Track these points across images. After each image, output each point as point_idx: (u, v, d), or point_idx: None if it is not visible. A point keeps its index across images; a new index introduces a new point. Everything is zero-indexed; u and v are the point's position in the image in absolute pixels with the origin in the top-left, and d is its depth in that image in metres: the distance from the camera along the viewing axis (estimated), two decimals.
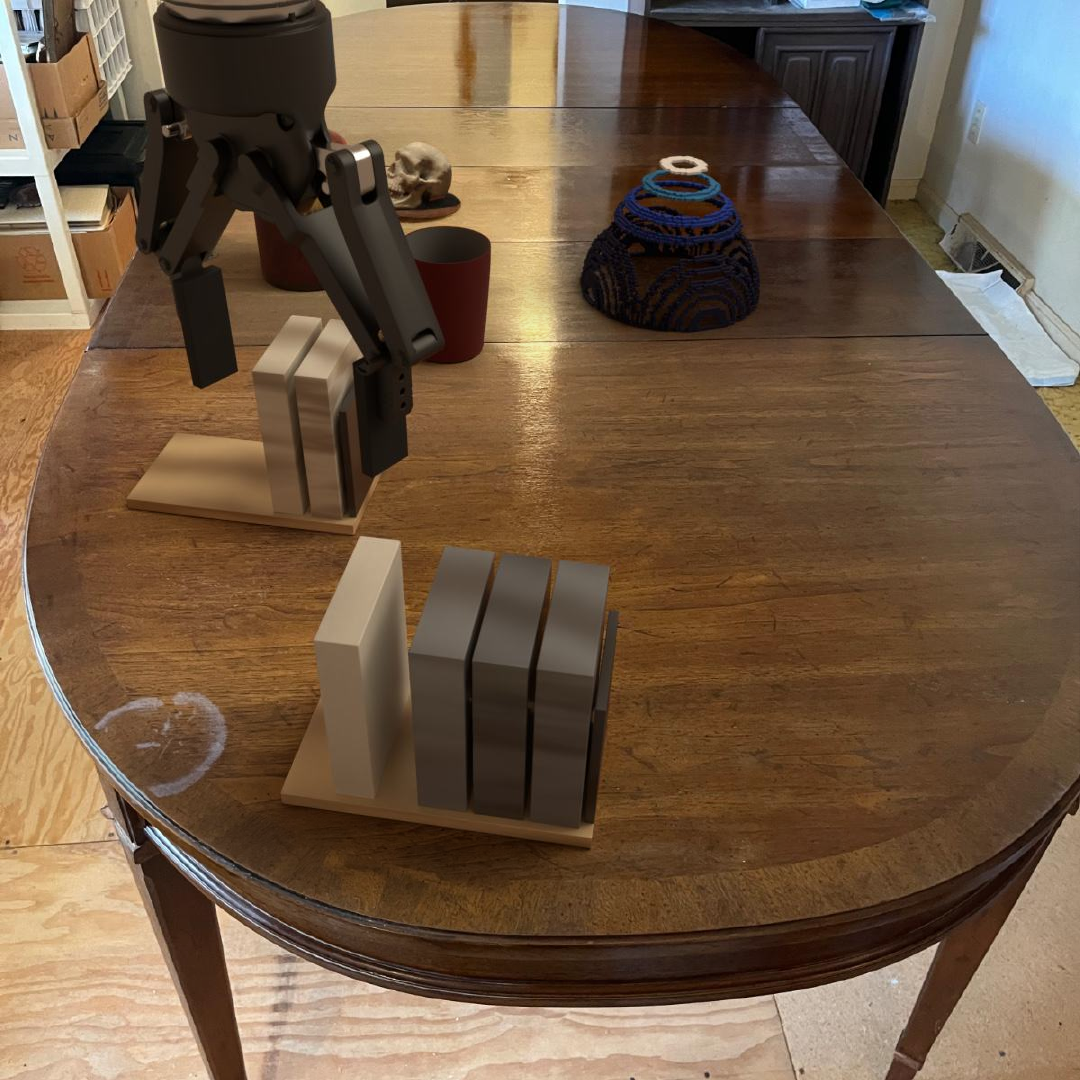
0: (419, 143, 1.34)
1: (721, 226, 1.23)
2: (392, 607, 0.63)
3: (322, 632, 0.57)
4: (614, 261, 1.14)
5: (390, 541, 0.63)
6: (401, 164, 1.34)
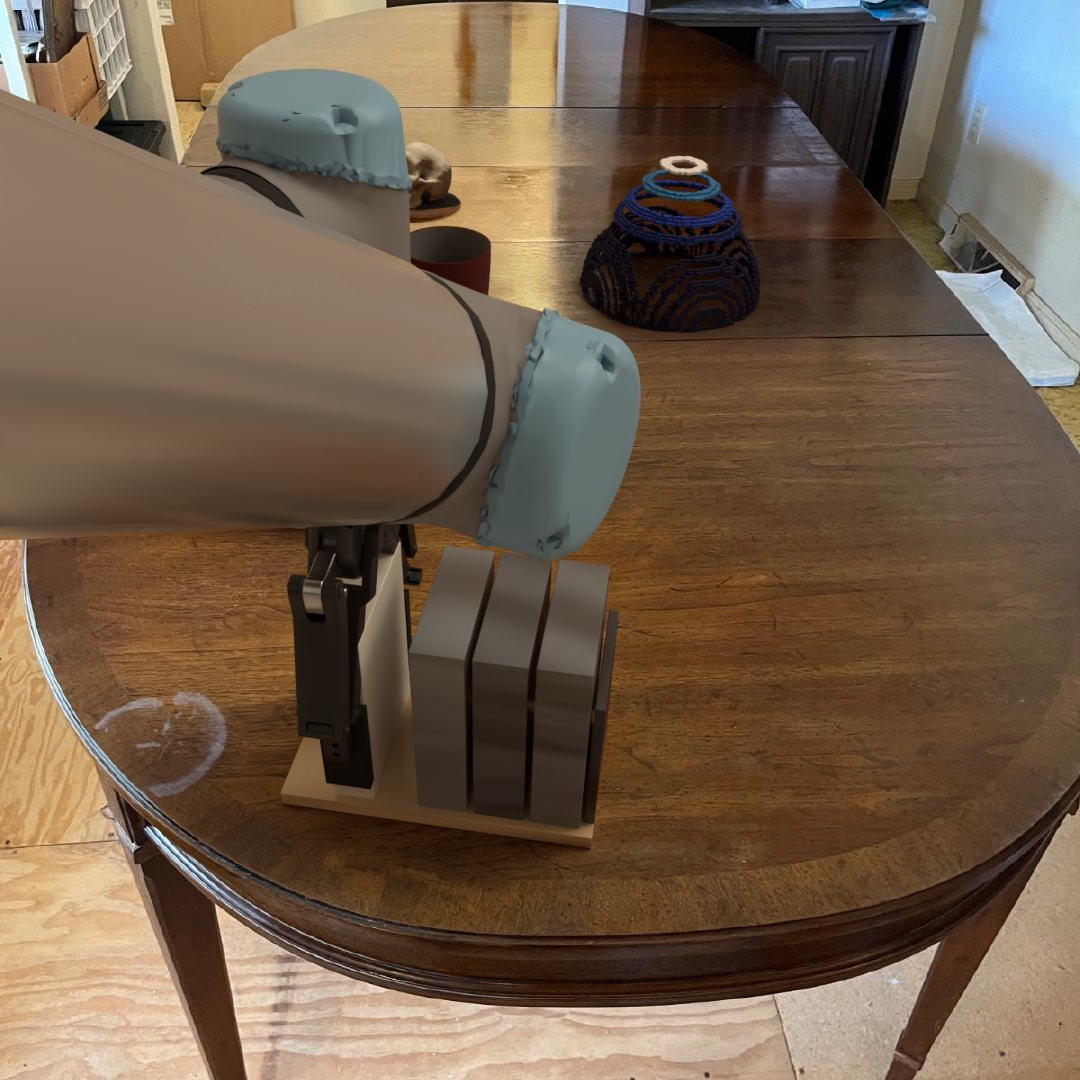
0: (419, 143, 1.34)
1: (721, 226, 1.22)
2: (392, 607, 0.63)
3: None
4: (614, 261, 1.14)
5: None
6: None
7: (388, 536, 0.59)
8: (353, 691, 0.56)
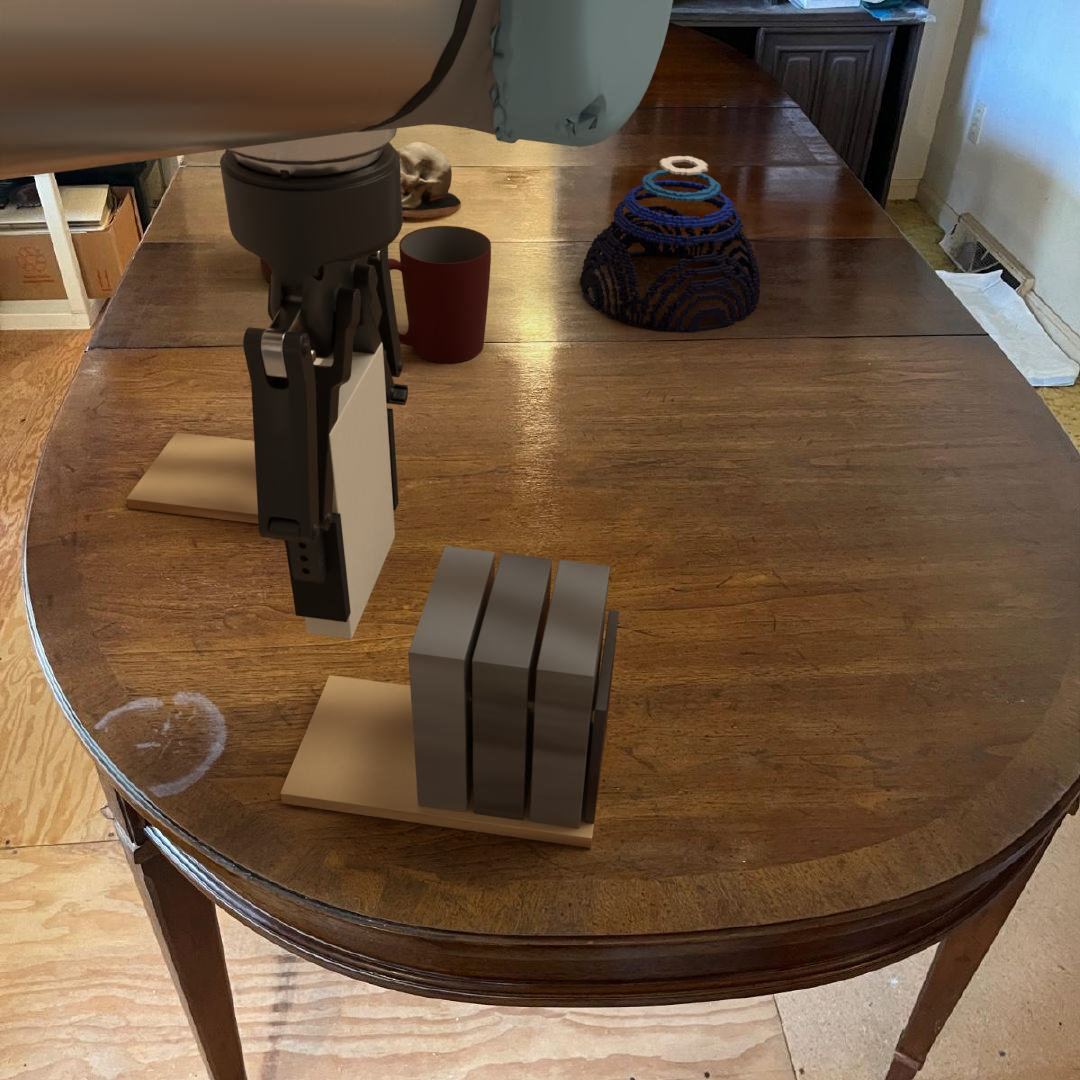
0: (419, 143, 1.34)
1: (721, 226, 1.22)
2: (372, 418, 0.55)
3: None
4: (614, 261, 1.14)
5: None
6: (401, 164, 1.34)
7: (366, 323, 0.52)
8: (324, 489, 0.49)
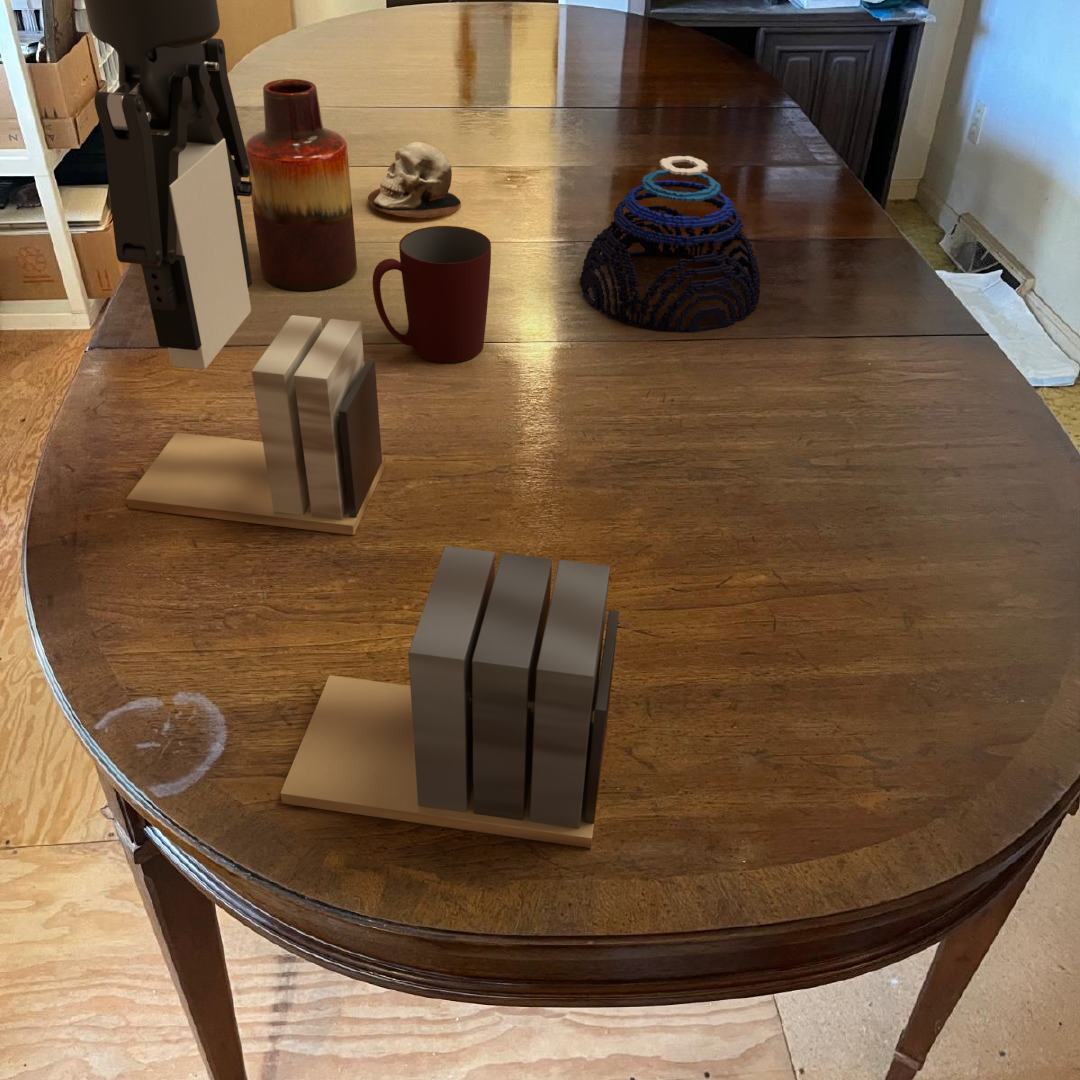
0: (419, 143, 1.34)
1: (721, 226, 1.22)
2: (217, 196, 0.73)
3: None
4: (614, 261, 1.14)
5: None
6: (401, 164, 1.34)
7: (205, 115, 0.69)
8: (167, 229, 0.66)
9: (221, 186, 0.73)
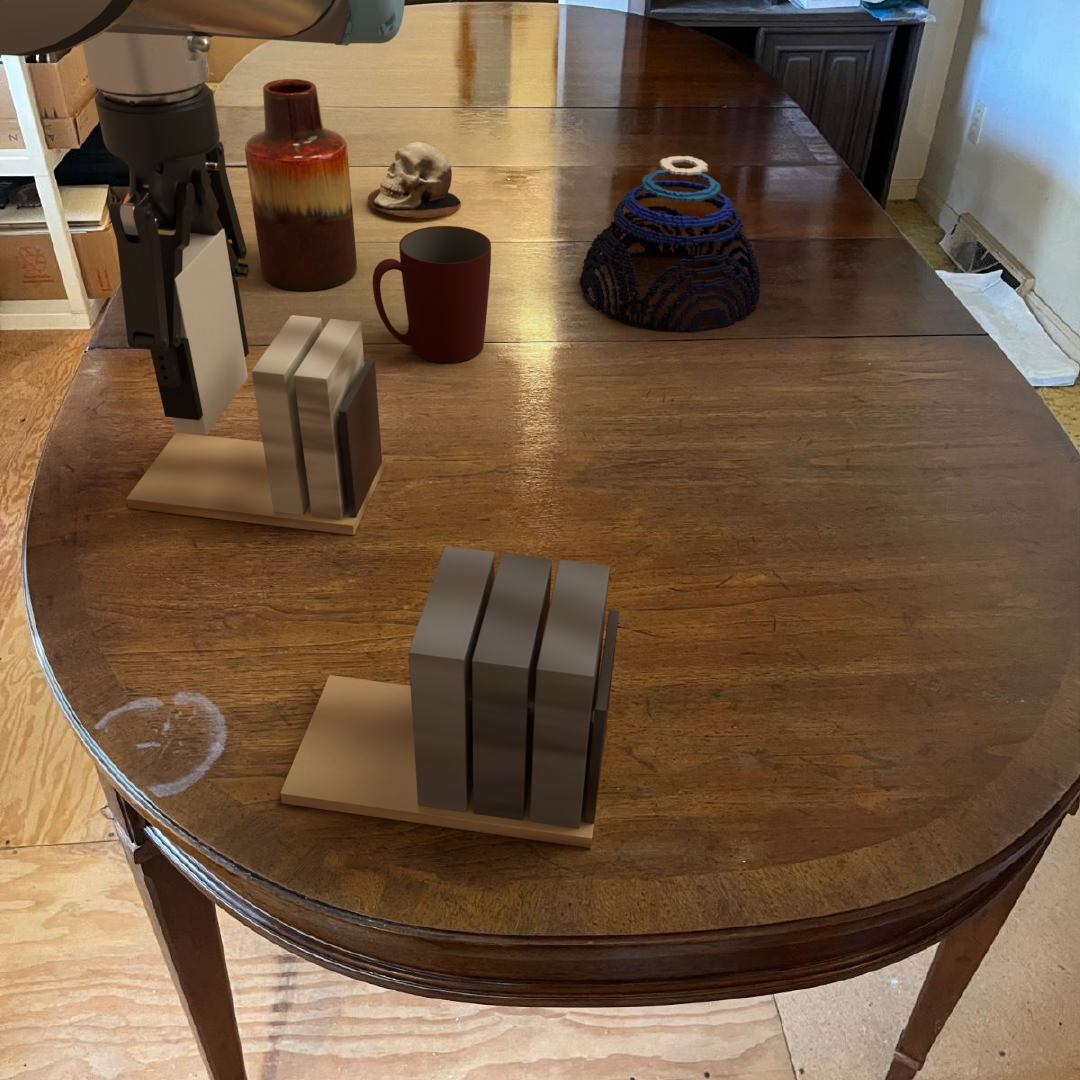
0: (419, 143, 1.34)
1: (721, 226, 1.22)
2: (217, 280, 0.80)
3: None
4: (614, 261, 1.14)
5: None
6: (401, 164, 1.34)
7: (206, 212, 0.77)
8: (172, 317, 0.74)
9: (220, 271, 0.81)
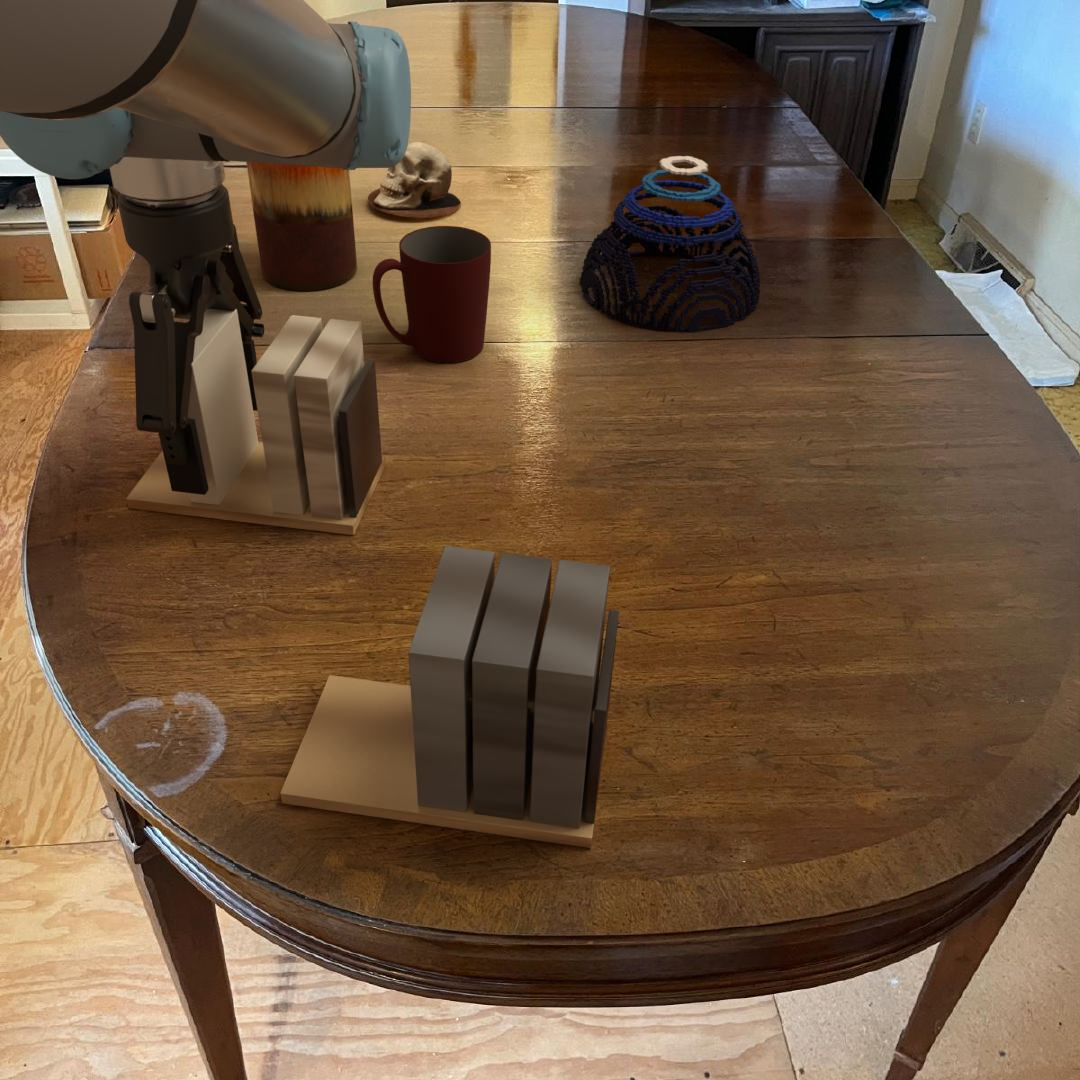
0: (419, 143, 1.34)
1: (721, 226, 1.22)
2: (230, 358, 0.85)
3: None
4: (614, 261, 1.14)
5: None
6: (401, 164, 1.34)
7: (222, 294, 0.82)
8: (181, 399, 0.77)
9: (233, 349, 0.85)
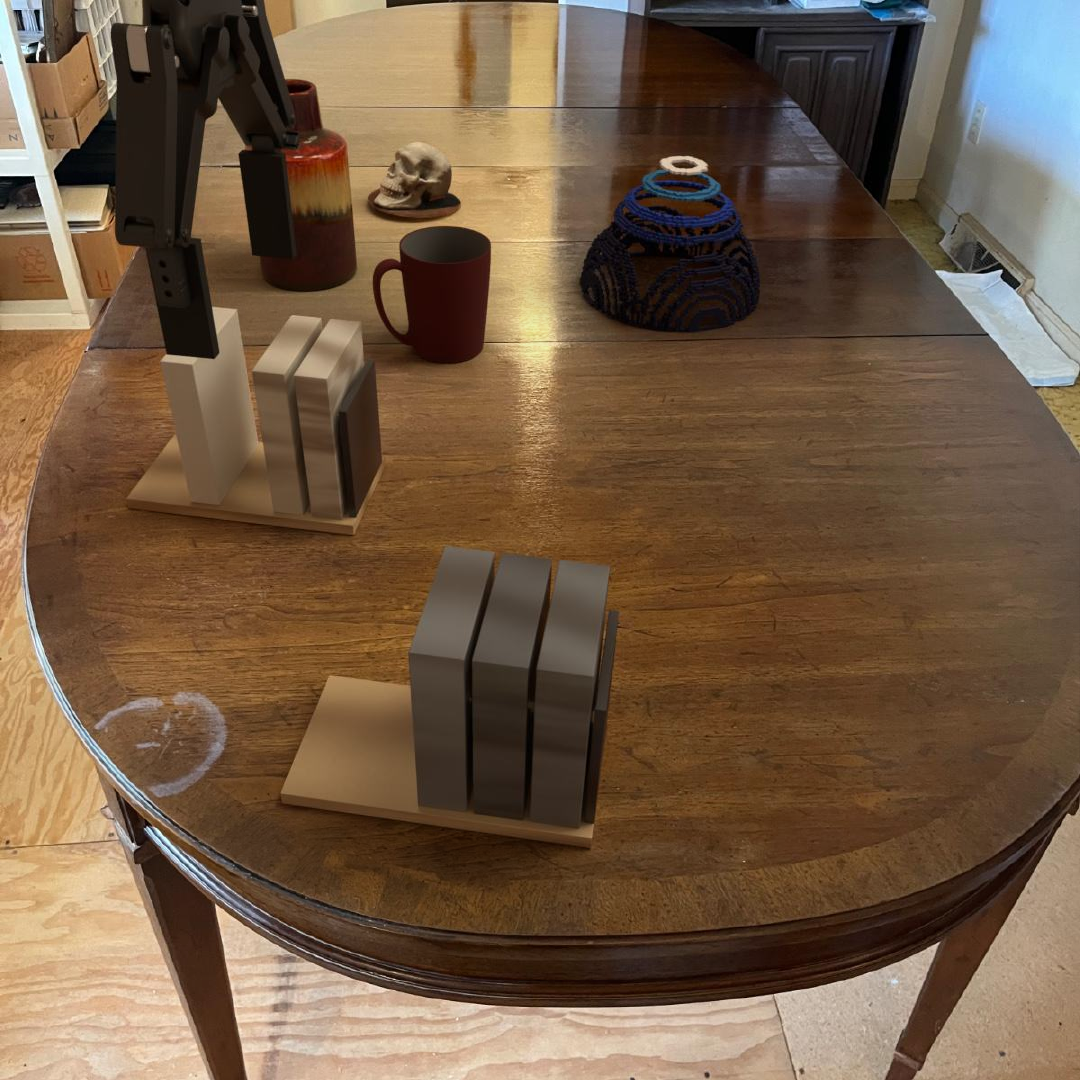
0: (419, 143, 1.34)
1: (721, 226, 1.22)
2: (230, 358, 0.85)
3: (167, 357, 0.78)
4: (614, 261, 1.14)
5: (229, 309, 0.85)
6: (401, 164, 1.34)
7: (245, 72, 0.58)
8: (183, 202, 0.52)
9: (233, 349, 0.85)
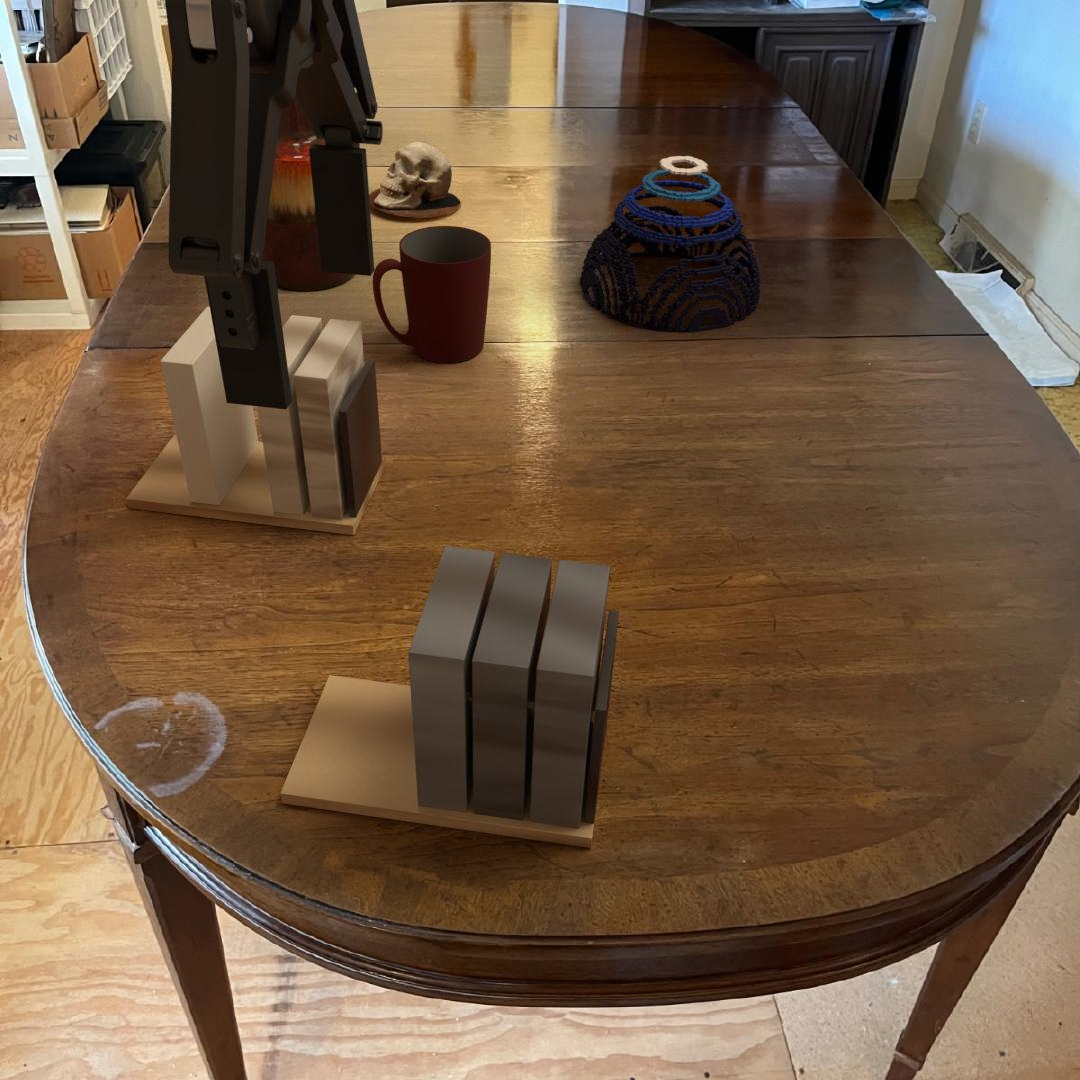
0: (419, 143, 1.34)
1: (721, 226, 1.22)
2: None
3: (167, 357, 0.78)
4: (614, 261, 1.14)
5: None
6: (401, 164, 1.34)
7: (326, 49, 0.46)
8: (253, 216, 0.41)
9: None
